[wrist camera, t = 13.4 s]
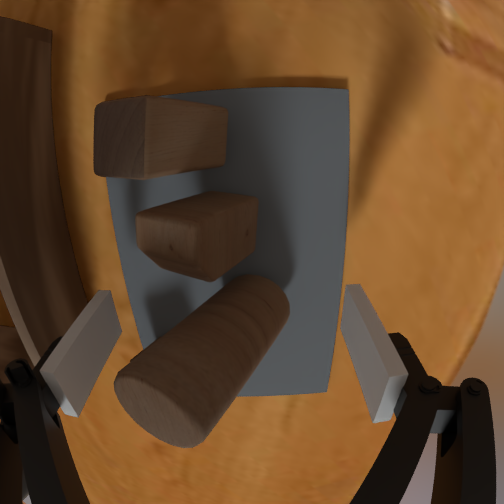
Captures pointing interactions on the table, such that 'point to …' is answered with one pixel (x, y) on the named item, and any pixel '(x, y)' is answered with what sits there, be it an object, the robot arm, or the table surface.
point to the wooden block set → (189, 267)
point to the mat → (260, 225)
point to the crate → (32, 203)
